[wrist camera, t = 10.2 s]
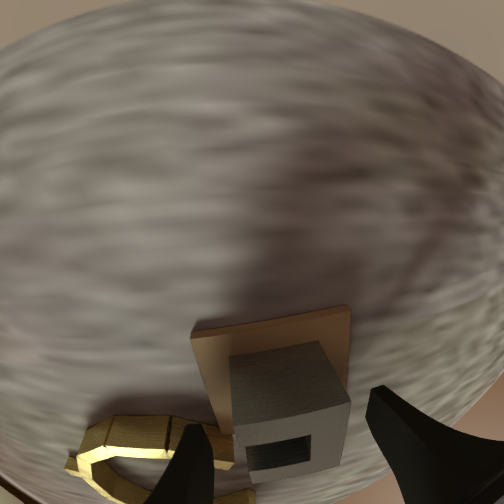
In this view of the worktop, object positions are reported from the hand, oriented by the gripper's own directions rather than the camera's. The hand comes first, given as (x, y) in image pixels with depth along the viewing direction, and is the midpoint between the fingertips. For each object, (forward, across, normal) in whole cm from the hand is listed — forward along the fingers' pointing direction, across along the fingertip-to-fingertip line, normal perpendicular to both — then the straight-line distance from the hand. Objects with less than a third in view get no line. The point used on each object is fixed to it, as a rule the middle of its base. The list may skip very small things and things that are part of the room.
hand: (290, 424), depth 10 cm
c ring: (+3, +10, +9) cm, 14 cm away
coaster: (+3, 0, 0) cm, 3 cm away
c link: (+3, 0, 0) cm, 3 cm away
